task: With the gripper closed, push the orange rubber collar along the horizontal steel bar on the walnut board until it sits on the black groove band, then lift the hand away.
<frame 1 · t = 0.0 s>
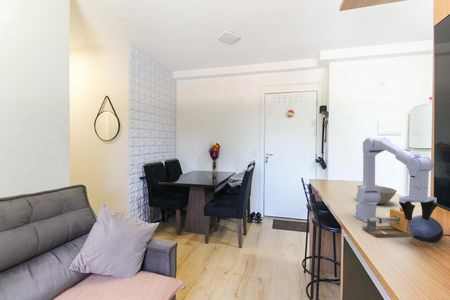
hand: (416, 219, 92), 10 cm above the bar counter, tool pointing down, fingers open, 7 cm apart
collar: (398, 219, 103), point 6 cm above the bar counter, slide at 0.0 cm
ceramic bowl: (375, 203, 153), on the bar counter
pipe stand: (389, 232, 103), on the bar counter
supplement bottle: (405, 220, 119), on the bar counter
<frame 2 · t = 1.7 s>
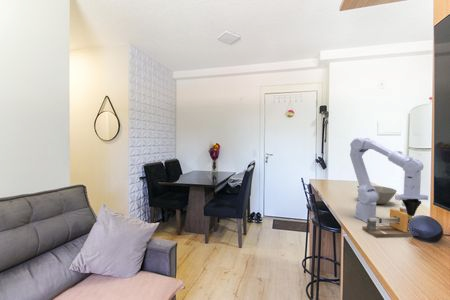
hand: (410, 215, 103), 8 cm above the bar counter, tool pointing down, fingers closed
nothing on the bar counter moved.
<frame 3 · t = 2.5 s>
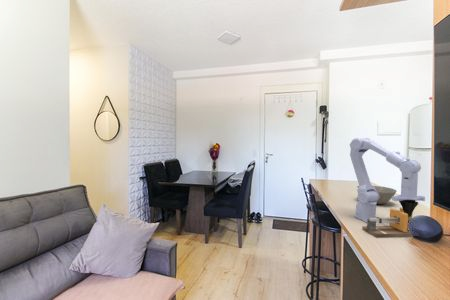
hand: (407, 216, 103), 8 cm above the bar counter, tool pointing down, fingers closed
nothing on the bar counter moved.
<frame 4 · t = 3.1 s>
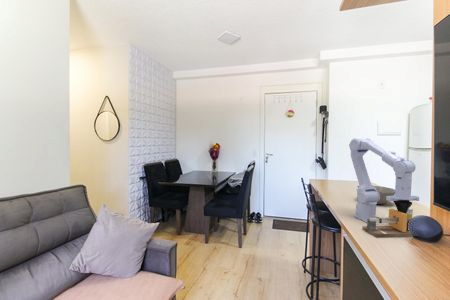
hand: (401, 216, 103), 8 cm above the bar counter, tool pointing down, fingers closed
collar: (397, 219, 103), point 6 cm above the bar counter, slide at 0.5 cm, touching gripper
everything else where it was.
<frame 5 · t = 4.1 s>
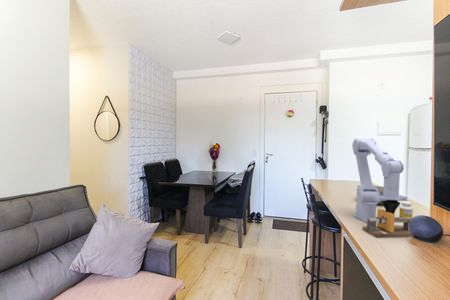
hand: (389, 216, 102), 8 cm above the bar counter, tool pointing down, fingers closed
collar: (385, 220, 102), point 6 cm above the bar counter, slide at 6.3 cm, touching gripper
everything else where it was.
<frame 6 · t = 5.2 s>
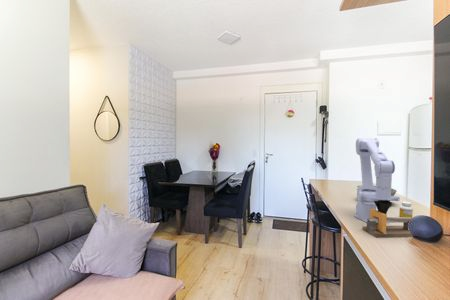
hand: (382, 216, 102), 8 cm above the bar counter, tool pointing down, fingers closed
collar: (377, 220, 102), point 6 cm above the bar counter, slide at 10.1 cm, touching gripper
everything else where it was.
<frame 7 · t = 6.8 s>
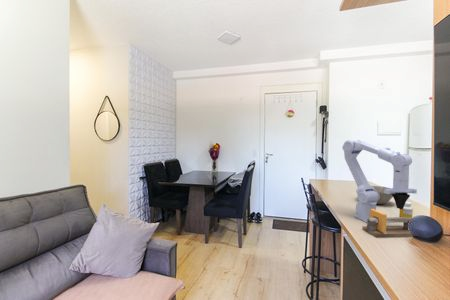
hand: (399, 208, 106), 10 cm above the bar counter, tool pointing down, fingers closed
collar: (377, 220, 102), point 6 cm above the bar counter, slide at 10.1 cm
everything else where it was.
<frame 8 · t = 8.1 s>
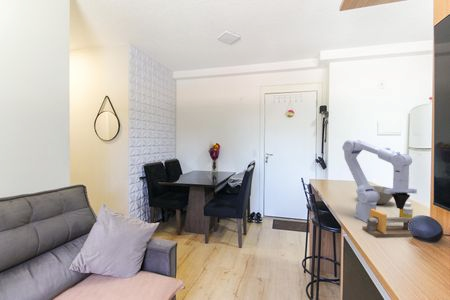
hand: (399, 208, 106), 10 cm above the bar counter, tool pointing down, fingers closed
nothing on the bar counter moved.
at the end: collar slide at 10.1 cm; collar moved 10.1 cm from its start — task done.
